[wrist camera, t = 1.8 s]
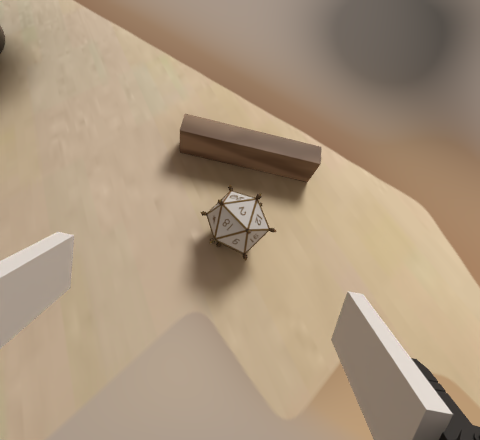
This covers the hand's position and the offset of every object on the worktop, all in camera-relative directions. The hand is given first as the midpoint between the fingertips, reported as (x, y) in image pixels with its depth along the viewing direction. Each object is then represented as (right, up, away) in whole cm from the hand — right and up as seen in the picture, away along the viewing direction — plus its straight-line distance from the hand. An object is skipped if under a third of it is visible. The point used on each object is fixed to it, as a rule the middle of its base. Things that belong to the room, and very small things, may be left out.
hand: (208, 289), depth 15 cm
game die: (+1, +1, +28) cm, 28 cm away
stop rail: (+3, +13, +33) cm, 36 cm away
